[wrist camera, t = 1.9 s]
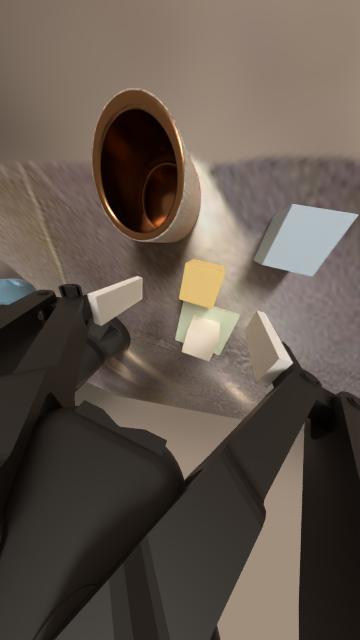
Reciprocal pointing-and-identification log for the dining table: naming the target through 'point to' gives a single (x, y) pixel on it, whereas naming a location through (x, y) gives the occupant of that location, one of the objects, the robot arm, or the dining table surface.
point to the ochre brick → (201, 282)
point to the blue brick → (302, 238)
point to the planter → (144, 169)
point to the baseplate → (208, 314)
